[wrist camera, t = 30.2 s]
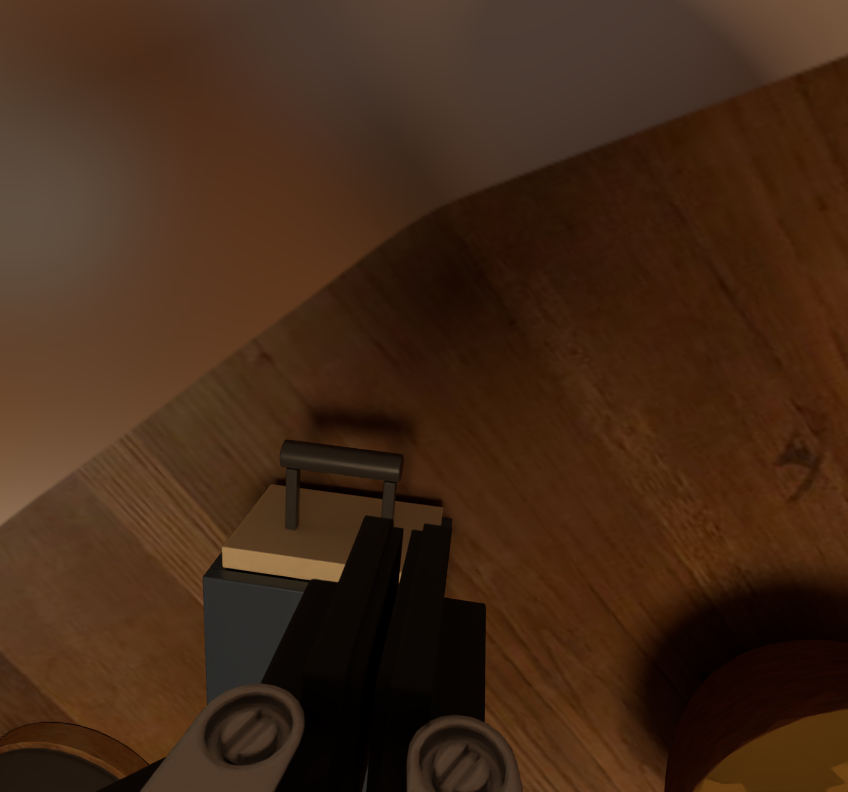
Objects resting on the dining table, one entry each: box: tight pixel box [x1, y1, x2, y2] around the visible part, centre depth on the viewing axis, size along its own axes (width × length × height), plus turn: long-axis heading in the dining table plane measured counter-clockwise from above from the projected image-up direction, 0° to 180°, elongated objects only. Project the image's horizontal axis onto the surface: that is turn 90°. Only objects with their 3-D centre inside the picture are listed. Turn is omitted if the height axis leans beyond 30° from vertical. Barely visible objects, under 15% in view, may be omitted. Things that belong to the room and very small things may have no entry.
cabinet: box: [203, 518, 452, 792], centre depth 34 cm, size 14×12×9 cm
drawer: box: [222, 440, 443, 582], centre depth 33 cm, size 17×10×7 cm, turn 175°
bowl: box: [664, 640, 848, 792], centre depth 32 cm, size 18×18×10 cm
